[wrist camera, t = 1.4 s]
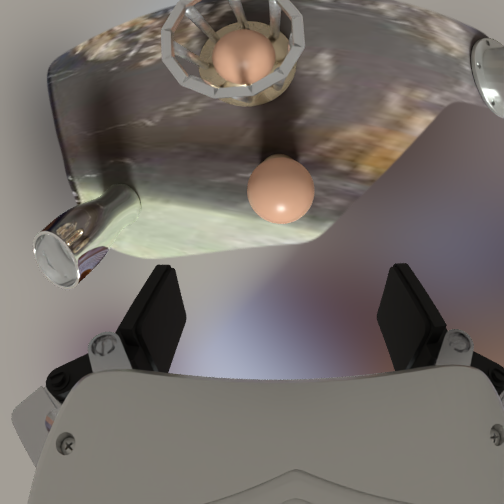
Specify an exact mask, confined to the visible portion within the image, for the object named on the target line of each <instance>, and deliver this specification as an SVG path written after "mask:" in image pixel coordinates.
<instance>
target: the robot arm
mask: <svg viewBox="0 0 504 504" xmlns="http://www.w3.org/2000/svg"><path fill="white" fill-rule="evenodd" d="M471 64H472V71H473V76H474V79H475V83H476V85H477V88H478V90H479V92H480V94H481V96H482V98H483V100H484V102H485V103H486V105H487V106H488V107H489V108H490V110H491V111H492V112H494V113H495V114H496V115H497V116H499V117H501V118H504V46H503V45H502V44H500V43H499V42H498V41H496V40H494V39H491V38H483V39H479V40H478V41H477V42H476V43H475V44H474V46H473V49H472V55H471ZM377 321H378V324H379V326H380V329H381V332H382V334H383V337H384V340H385V343H386V346H387V348H388V351H389V354H390V357H391V360H392V363H393V366H394V369H395V371H393V372H385V373H378V374H370V375H360V376H351V377H350V376H349V377H337V378H321V379H297V380H296V379H295V380H258V379H257V380H256V379H230V378H214V377H202V376H192V375H181V374H172V373H168V372H169V369H170V366H171V363H172V360H173V357H174V354H175V351H176V348H177V345H178V342H179V340H180V337H181V334H182V331H183V328H184V326H185V323H186V312H185V309H184V305H183V300H182V296H181V293H180V288H179V284H178V280H177V276H176V271H175V269H174V268H171V266H170V265H157V266H156V267H155V269H154V270H153V272H152V273H151V275H150V276H149V278H148V279H147V281H146V283H145V284H144V286H143V287H142V289H141V291H140V292H139V294H138V295H137V297H136V298H135V300H134V302H133V304H132V305H131V307H130V308H129V310H128V312H127V314H126V315H125V317H124V319H123V321H122V322H121V324H120V326H119V327H118V329H117V331H116V333H113V332H103V333H100V334H98V335H96V336H95V337H94V338H93V339H92V340H91V341H90V343H89V345H88V354H86V355H84V356H81V357H79V358H77V359H75V360H73V361H71V362H69V363H67V364H65V365H62V366H60V367H58V368H56V369H54V370H53V371H52V372H51V373H50V374H49V376H48V377H47V380H46V387H44V388H43V387H42V386H41V387H40V388H38V389H37V390H36V391H35V392H34V393H32V394H31V395H30V396H29V397H27V398H26V399H25V400H24V401H23V402H21V403H20V404H19V405H18V406H17V407H16V408H15V409H14V410H13V413H12V423H13V425H14V427H15V429H16V431H17V434H18V436H19V438H20V440H21V442H22V444H23V445H24V447H25V449H26V451H27V453H28V455H29V456H30V458H31V460H32V462H33V463H34V465H35V467H36V471H35V475H34V479H33V482H32V486H31V491H30V495H29V499H28V504H504V368H503V367H502V366H500V365H499V364H497V363H495V362H493V361H491V360H489V359H487V358H486V357H483V356H481V355H480V354H478V353H476V352H474V351H473V348H474V344H473V341H472V339H471V338H470V336H469V335H468V334H467V333H465V332H464V331H462V330H458V329H452V330H449V331H447V329H446V323H445V321H444V320H443V318H442V316H441V315H440V313H439V311H438V310H437V308H436V306H435V305H434V304H433V302H432V300H431V299H430V297H429V295H428V294H427V292H426V291H425V289H424V288H423V286H422V285H421V283H420V281H419V280H418V279H417V277H416V276H415V274H414V273H413V271H412V270H411V268H410V267H409V265H408V264H406V263H400V264H394V265H393V267H391V268H390V270H389V273H388V278H387V281H386V285H385V289H384V292H383V296H382V299H381V303H380V307H379V309H378V313H377Z"/></svg>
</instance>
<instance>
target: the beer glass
mask: <svg viewBox="0 0 504 504" xmlns="http://www.w3.org/2000/svg"><path fill="white" fill-rule="evenodd" d="M140 211H141V204H140V200H139V197H138V195H137V194H136V192H135V191H134V190H133V189H132V188H131V187H129V186H127V185H125V184H114V185H112V186H111V187H109V188H108V189H107V190H106V191H105V192H104V193H103V194H102V195H101V196H100V197H98V198H96V199H94V200H90V201H87V202H84V203H82V204H79V205H77V206H74V207H72V208H70V209H68V210H67V211H65V212H64V213H62V214H60V215H59V216H58V217H56V218H55V219H54V220H53V221H52V222H50V224H48V225H47V226H46V227H45V228H44V229H43V230H42V231H41V232H39V233H38V234H37V235H36V236H35V238H34V241H33V253H34V257H35V260H36V263H37V265H38V267H39V269H40V270H41V272H42V273H43V275H44V276H45V277H46V278H47V279H48V280H49V281H50V282H51V283H52V284H54V285H55V286H57V287H59V288H61V289H65V290H70V289H73V288H75V287H76V286H77V285H78V284H79V283H80V282H81V281H82V280H83V279H84V278H85V277H86V276H87V275H88V274H89V273H90V272H91V271H92V270H93V269H94V268H95V267H96V266H97V265H98V264H99V263H100V262H101V260H102V259H103V258H104V257H105V255H106V254H107V252H108V251H109V249H110V248H111V246H112V244H113V243H114V241H115V239H116V238H117V236H118V234H119V233H120V232H121V230H122V229H124V228H125V227H127V226H129V225H131V224H133V223H134V222H135V221H136V220H137V219H138V217H139V215H140Z"/></svg>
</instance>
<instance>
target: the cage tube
mask: <svg viewBox="0 0 504 504" xmlns="http://www.w3.org/2000/svg"><path fill="white" fill-rule="evenodd" d="M200 1H201V0H180V1H179V2H178V3H177V4H176V6H175V8H174V9H173V11H172V12H171V14H170V16H169V17H168V19H167V21H166V22H165V24H164V26H163V28H162V29H161V48H162V61H163V62H164V64H165V65H166V66H167V68H168V69H169V70H170V72H171V73H172V74H173V75H174V77H175V78H176V79H177V81H178V82H179V84H180V85H181V86H184V87H187V88H189V89H192V90H194V91H197V92H199V93H202V94H204V95H207V96H209V97H212V98H214V99H220V100H222V101H224V102H226V103H229V104H232V105H237V106H257V105H262V104H265V103H268V102H270V101H272V100H274V99H275V98H277V97H278V96H280V95H281V94H282V93H283V92H284V91H285V90H286V89H287V88H288V86H289V85H290V83H291V81H292V79H293V77H294V74H295V71H296V61H297V60H298V58H299V56H300V55H301V53H302V52H303V50H304V48H305V41H304V28H303V17H302V15H301V13H300V12H299V11H298V10H297V8H296V7H295V6H294V5H293V4H292V3H291V2H290V0H269V12H270V25H267V24H264V23H260V22H252V21H247V19H246V16H245V13H244V10H243V7H242V4H241V1H240V0H228V1H229V3H230V5H231V8H232V10H233V12H234V14H235V16H236V19H237V21H238V22H237V23H233V24H230V25H228V26H225V27H223V28H221V29H220V30H218V31H217V32H215V31H214V30H213V29H212V27H211V26H210V25H209V24H208V23H207V21H206V20H205V19H204V18H203V17H202V16H201V14H200V13H199V12H198V11H197V10H196V9H195V8H194V6H193V5H195V4H196V3H198V2H200ZM281 9H282V10H283V11H284V12H285V14H286V15H287V16H288V17H289V18H290V20H291V24H292V31H291V33H290V38H289V40H288V39H287V38H286V37H285V35H283V34H282V33H281V32H280V19H281ZM184 14H185V15H186V16H187V17H188V18H189V19H190V20H191V21H192V22H193V23H194V24H195V25H196V26H197V27H198V28H199V29H200V30H201V31H202V32H203V33H204V34H205V35H206V36H207V37H208V38H209V39H208V40H207V42H206V43H205V45H204V46H203V48H202V50H201V53H200V57H199V56H197V55H196V54H194V53H193V52H191V51H190V50H188V49H186V48H185V47H183V46H181V45H180V44H178V43H177V42H175V41H174V31H175V29H176V28H177V26H178V24H179V23H180V21H181V19H182V18H183V16H184ZM240 29H249V30H254V31H257V32H259V33H261V34H263V35H264V36H265V37H267V38H268V39H269V40H270V42H271V43H272V45H273V47H274V50H275V55H276V59H275V64H274V66H273V68H272V70H271V72H270V73H269V74H268V75H267V76H266V77H264V78H262V79H260V80H259V81H257V82H255V83H252V84H247V85H240V84H235V83H231V82H229V81H227V80H225V79H223V78H222V77H221V76H220V75H219V74H218V73H217V71H216V70H215V68H214V66H213V62H212V52H213V49H214V46H215V44H216V43H217V42H218V40H219V39H220V38H221V37H223V36H224V35H225V34H227V33H229V32H231V31H235V30H240ZM175 55H177V56H179V57H181V58H183V59H185V60H187V61H189V62H191V63H193V64H195V65H197V66H199V73H200V76H201V78H198V77H196V76H193V75H188V74H187V73H186V71H185V70H184V69H183V67H182V66H181V65H180V64H179V62H178V61H177V60H176V58H175Z"/></svg>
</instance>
